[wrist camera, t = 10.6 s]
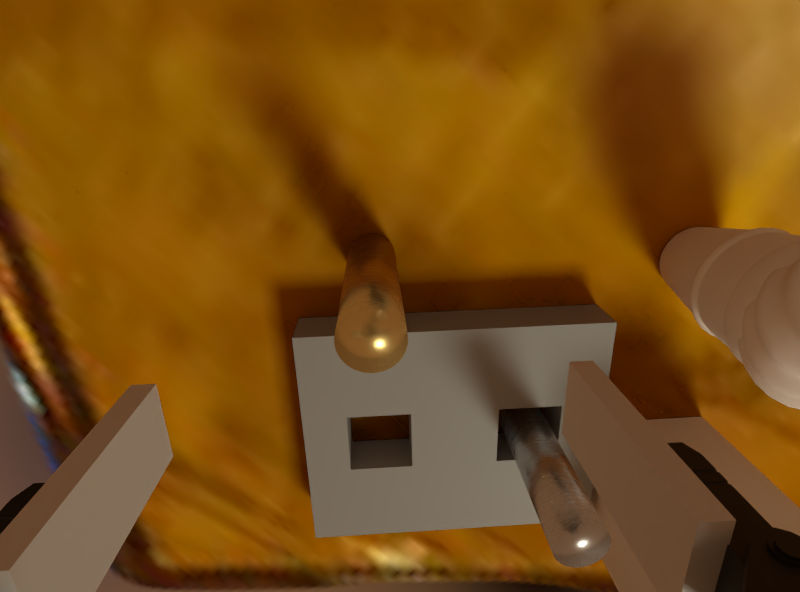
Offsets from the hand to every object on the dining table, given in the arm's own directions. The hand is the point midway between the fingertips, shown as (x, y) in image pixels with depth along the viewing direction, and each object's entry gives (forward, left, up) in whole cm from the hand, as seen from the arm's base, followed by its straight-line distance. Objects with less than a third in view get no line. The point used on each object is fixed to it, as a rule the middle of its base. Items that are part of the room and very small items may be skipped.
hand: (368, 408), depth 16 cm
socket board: (+12, +5, -16) cm, 21 cm away
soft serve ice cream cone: (+1, +21, -17) cm, 27 cm away
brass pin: (0, 0, -17) cm, 17 cm away
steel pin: (+12, +10, -17) cm, 23 cm away
